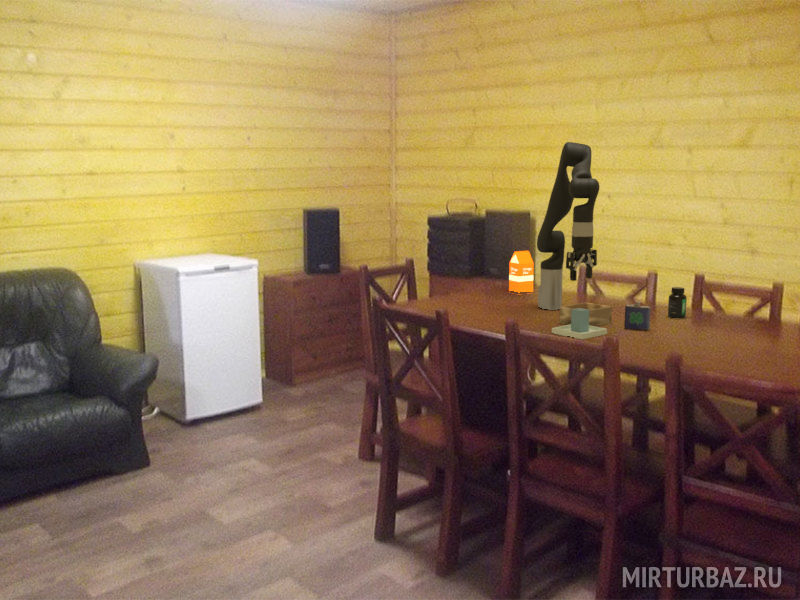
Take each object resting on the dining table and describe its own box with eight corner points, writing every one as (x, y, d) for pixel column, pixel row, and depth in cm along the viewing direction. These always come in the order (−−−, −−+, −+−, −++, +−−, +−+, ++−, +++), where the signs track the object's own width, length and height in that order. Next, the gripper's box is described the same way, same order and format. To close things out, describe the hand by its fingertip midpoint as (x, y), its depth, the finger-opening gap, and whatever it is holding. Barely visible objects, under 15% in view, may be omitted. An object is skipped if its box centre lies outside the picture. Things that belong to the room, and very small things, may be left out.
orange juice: (533, 292, 390) (534, 251, 387) (518, 294, 386) (519, 252, 382) (523, 290, 397) (523, 249, 393) (508, 292, 392) (509, 250, 389)
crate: (559, 323, 317) (559, 306, 316) (585, 318, 326) (585, 302, 325) (585, 328, 307) (585, 311, 306) (611, 323, 317) (611, 306, 315)
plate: (551, 333, 299) (551, 327, 299) (576, 328, 307) (576, 323, 307) (582, 339, 288) (582, 334, 288) (607, 334, 297) (607, 328, 296)
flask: (650, 330, 303) (651, 301, 302) (648, 331, 301) (649, 302, 299) (624, 328, 308) (625, 300, 306) (623, 329, 305) (624, 301, 303)
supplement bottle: (688, 319, 324) (689, 289, 322) (670, 319, 324) (672, 289, 322) (682, 315, 330) (683, 286, 328) (665, 315, 330) (666, 286, 328)
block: (570, 330, 298) (571, 309, 297) (578, 329, 301) (579, 307, 299) (580, 332, 295) (581, 311, 293) (588, 331, 297) (589, 309, 296)
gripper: (587, 232, 300) (585, 276, 302) (561, 235, 291) (559, 280, 294) (603, 234, 294) (601, 278, 297) (577, 236, 285) (576, 282, 288)
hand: (581, 279), depth 295 cm, fingers open, 8 cm apart
